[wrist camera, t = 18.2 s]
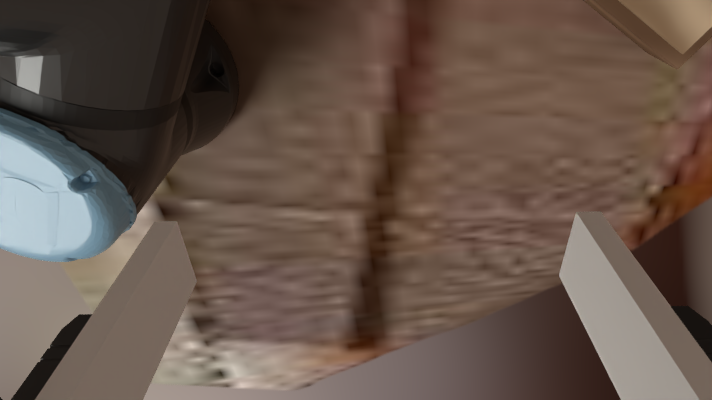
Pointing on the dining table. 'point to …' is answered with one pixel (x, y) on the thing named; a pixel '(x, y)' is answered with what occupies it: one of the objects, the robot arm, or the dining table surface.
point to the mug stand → (661, 25)
